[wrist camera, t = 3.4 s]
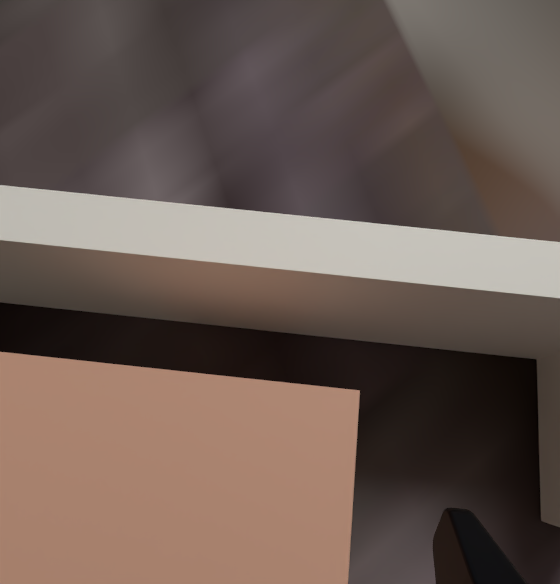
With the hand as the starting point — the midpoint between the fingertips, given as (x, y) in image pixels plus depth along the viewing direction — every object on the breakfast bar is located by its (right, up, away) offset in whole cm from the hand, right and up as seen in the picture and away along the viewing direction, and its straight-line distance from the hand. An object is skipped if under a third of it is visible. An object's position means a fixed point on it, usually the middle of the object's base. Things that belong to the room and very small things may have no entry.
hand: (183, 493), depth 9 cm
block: (0, -3, +7) cm, 7 cm away
